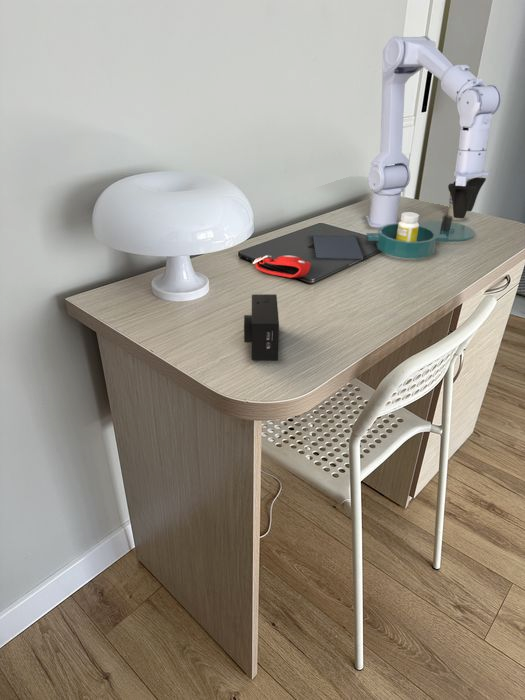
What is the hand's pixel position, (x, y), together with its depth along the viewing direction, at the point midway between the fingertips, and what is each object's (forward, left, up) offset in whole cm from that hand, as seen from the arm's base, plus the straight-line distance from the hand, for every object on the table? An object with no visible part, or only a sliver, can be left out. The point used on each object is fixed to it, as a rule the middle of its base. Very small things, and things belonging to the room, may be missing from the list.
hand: (462, 214), depth 114 cm
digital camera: (+40, -44, -11) cm, 61 cm away
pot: (-5, -10, -10) cm, 16 cm away
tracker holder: (+9, -40, -11) cm, 43 cm away
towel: (-5, -27, -10) cm, 29 cm away
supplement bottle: (-5, -10, -10) cm, 15 cm away
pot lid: (-17, +3, -10) cm, 20 cm away
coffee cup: (-30, +10, -11) cm, 33 cm away
